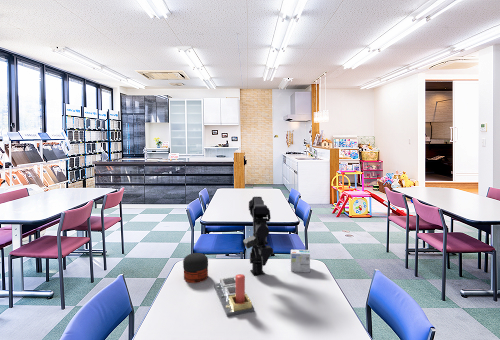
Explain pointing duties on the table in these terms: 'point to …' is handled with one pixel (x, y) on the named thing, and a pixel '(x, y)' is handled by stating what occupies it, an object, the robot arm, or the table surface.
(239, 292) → the plug
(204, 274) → the oil filter
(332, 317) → the table surface
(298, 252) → the light bulb box
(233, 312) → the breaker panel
